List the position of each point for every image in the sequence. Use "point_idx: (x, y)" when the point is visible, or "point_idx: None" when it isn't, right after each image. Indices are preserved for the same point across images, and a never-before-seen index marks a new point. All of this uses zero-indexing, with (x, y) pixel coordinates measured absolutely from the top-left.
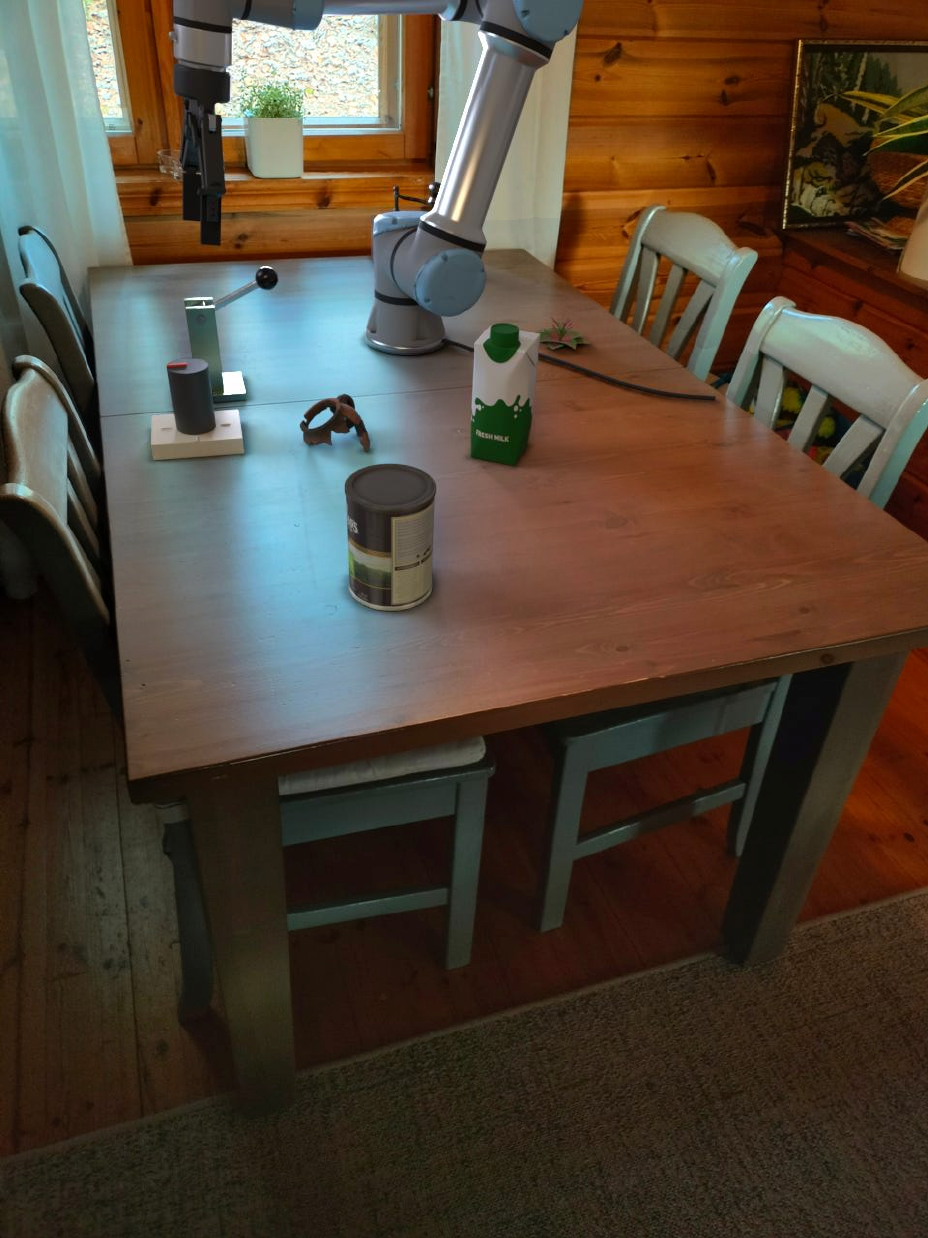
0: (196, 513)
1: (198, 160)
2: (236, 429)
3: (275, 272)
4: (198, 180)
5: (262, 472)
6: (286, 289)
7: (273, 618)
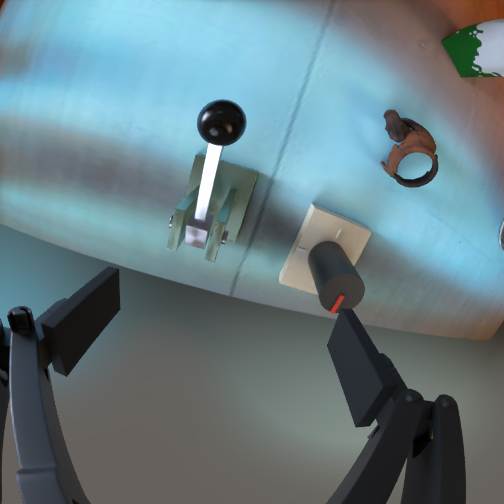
0: (411, 289)
1: (42, 379)
2: (354, 229)
3: (232, 106)
4: (65, 329)
5: (400, 228)
6: (18, 58)
7: (489, 286)
